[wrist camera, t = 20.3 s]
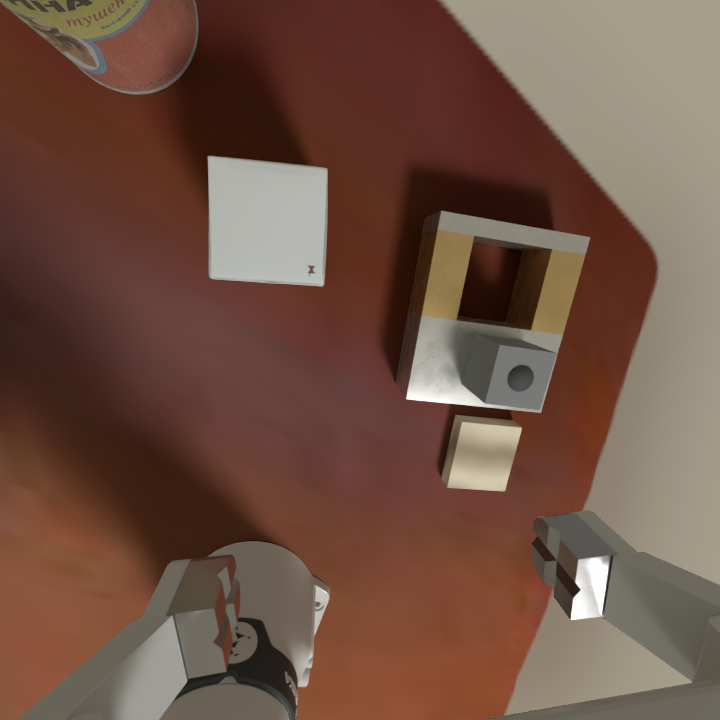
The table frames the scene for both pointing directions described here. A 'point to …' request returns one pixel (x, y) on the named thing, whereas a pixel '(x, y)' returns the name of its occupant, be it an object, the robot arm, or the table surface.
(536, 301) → the grey yellow rectangular frame
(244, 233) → the supplement box
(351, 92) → the table surface
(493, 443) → the tab
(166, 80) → the canned food
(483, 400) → the nut block
